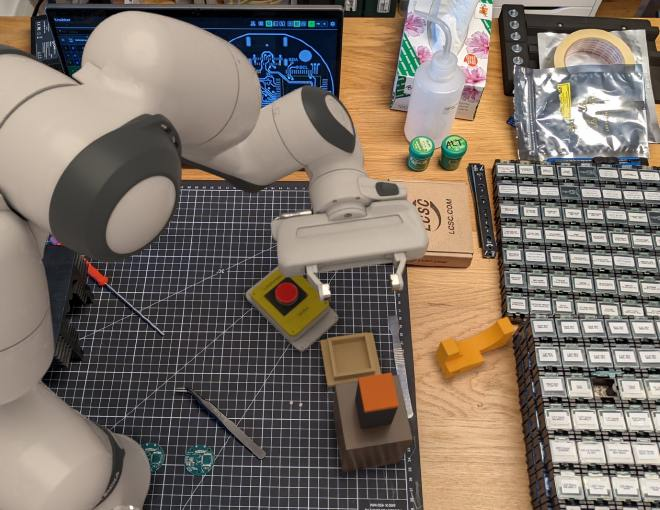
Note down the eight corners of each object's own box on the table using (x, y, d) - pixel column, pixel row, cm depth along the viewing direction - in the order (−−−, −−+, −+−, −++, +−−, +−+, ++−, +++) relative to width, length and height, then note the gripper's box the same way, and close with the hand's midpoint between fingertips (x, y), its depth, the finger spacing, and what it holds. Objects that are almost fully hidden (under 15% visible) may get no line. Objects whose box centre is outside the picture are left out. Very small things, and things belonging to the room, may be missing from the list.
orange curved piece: (446, 378, 102) (453, 365, 97) (434, 355, 104) (441, 341, 99) (509, 354, 105) (520, 340, 99) (497, 331, 107) (507, 316, 101)
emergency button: (281, 251, 109) (341, 308, 104) (282, 263, 113) (340, 318, 107) (240, 284, 106) (300, 344, 100) (243, 295, 109) (301, 354, 104)
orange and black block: (360, 429, 82) (364, 411, 74) (354, 398, 84) (358, 377, 77) (391, 424, 83) (398, 405, 75) (385, 393, 85) (391, 372, 77)
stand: (342, 472, 95) (345, 450, 81) (332, 414, 99) (334, 384, 85) (399, 463, 96) (413, 439, 82) (387, 406, 100) (398, 374, 86)
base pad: (327, 387, 101) (327, 381, 99) (320, 342, 105) (320, 335, 103) (381, 379, 102) (383, 373, 100) (372, 334, 106) (373, 327, 103)
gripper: (266, 202, 83) (279, 295, 76) (416, 182, 84) (441, 271, 78) (270, 227, 88) (282, 315, 81) (411, 208, 90) (434, 293, 83)
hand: (361, 294), depth 80 cm, fingers open, 8 cm apart
